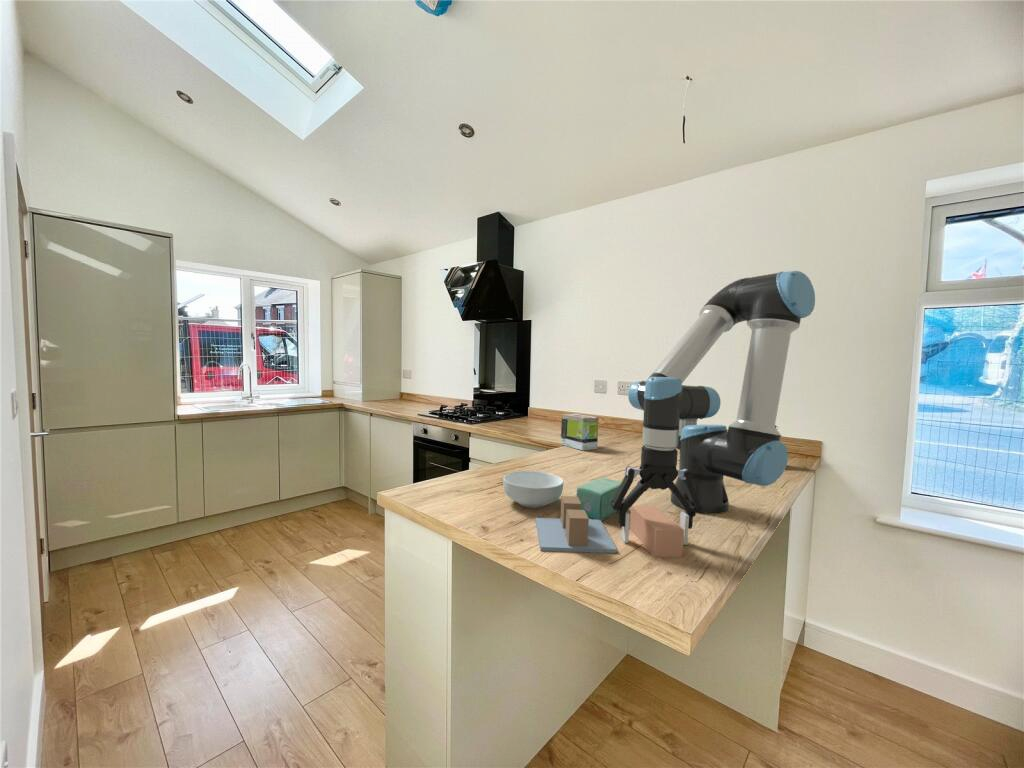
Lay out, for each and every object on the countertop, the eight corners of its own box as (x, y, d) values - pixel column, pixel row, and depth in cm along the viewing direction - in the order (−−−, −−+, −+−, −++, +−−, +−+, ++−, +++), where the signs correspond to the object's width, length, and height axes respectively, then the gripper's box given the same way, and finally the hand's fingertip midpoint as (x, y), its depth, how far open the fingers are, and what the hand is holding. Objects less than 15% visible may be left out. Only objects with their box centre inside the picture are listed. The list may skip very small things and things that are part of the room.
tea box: (598, 449, 191) (599, 417, 190) (582, 451, 185) (583, 418, 184) (575, 442, 203) (576, 412, 203) (559, 444, 198) (561, 413, 197)
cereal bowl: (547, 519, 105) (548, 491, 104) (491, 505, 113) (491, 480, 112) (571, 500, 120) (572, 476, 119) (520, 489, 128) (521, 467, 127)
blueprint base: (599, 522, 103) (601, 496, 103) (616, 552, 88) (618, 521, 87) (535, 520, 103) (536, 493, 103) (540, 550, 87) (541, 518, 87)
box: (574, 514, 109) (576, 486, 109) (599, 502, 119) (601, 476, 119) (599, 522, 104) (601, 493, 104) (623, 509, 115) (625, 482, 114)
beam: (653, 530, 101) (655, 505, 100) (682, 557, 87) (684, 529, 87) (629, 530, 100) (630, 505, 100) (654, 558, 86) (656, 529, 86)
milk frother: (699, 451, 195) (701, 419, 194) (665, 449, 195) (667, 418, 194) (687, 444, 209) (689, 415, 208) (655, 443, 209) (657, 414, 208)
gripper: (706, 445, 96) (700, 535, 97) (600, 441, 96) (595, 532, 97) (723, 452, 89) (716, 550, 90) (608, 448, 88) (603, 546, 90)
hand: (654, 541), depth 94 cm, fingers open, 12 cm apart
